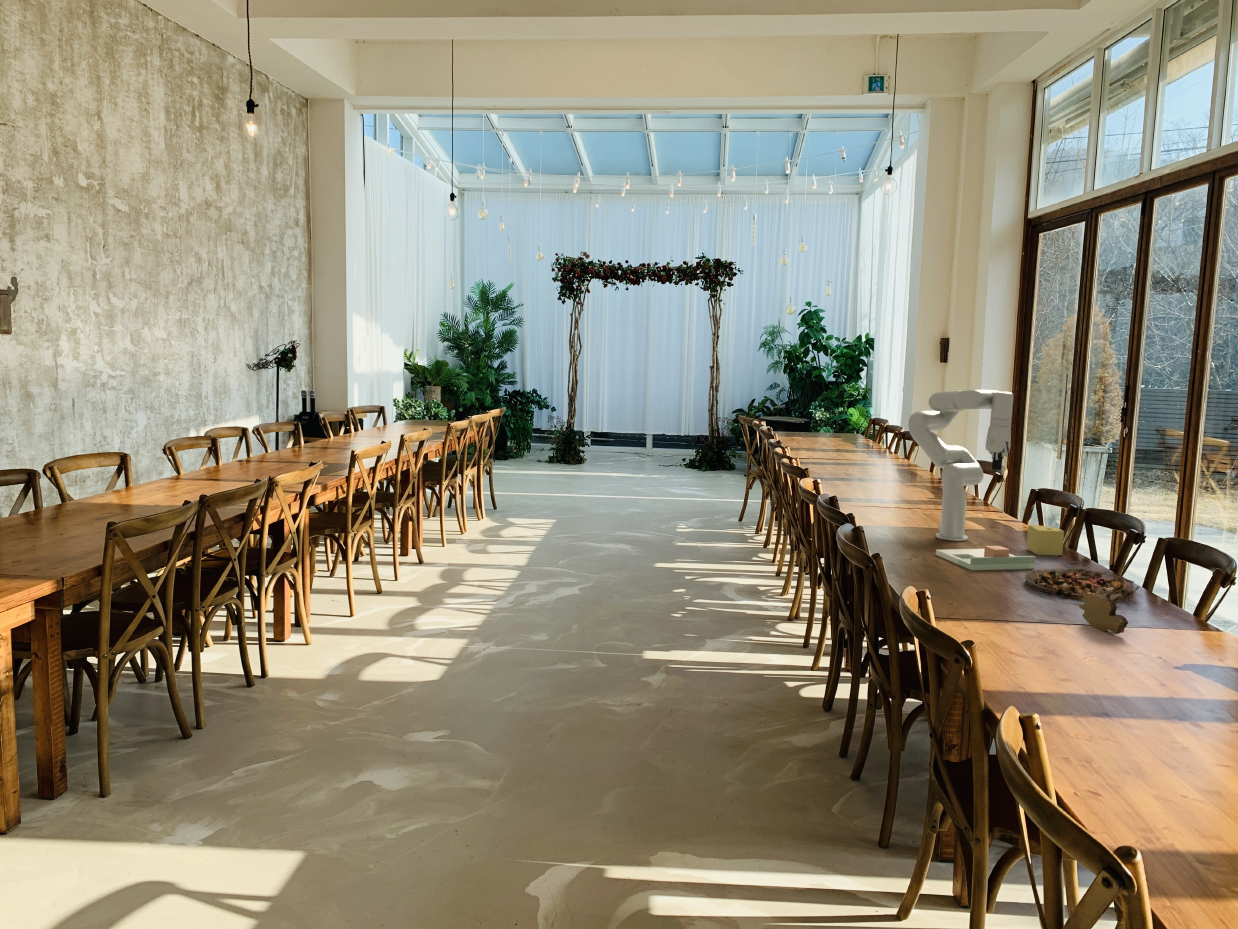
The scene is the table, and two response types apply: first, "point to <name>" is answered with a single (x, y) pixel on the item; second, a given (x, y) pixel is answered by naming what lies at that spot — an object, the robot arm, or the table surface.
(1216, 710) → the table surface
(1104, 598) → the wooden carving
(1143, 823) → the table surface
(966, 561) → the board
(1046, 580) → the food dish
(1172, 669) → the table surface
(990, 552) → the block
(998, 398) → the robot arm
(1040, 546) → the cheese
